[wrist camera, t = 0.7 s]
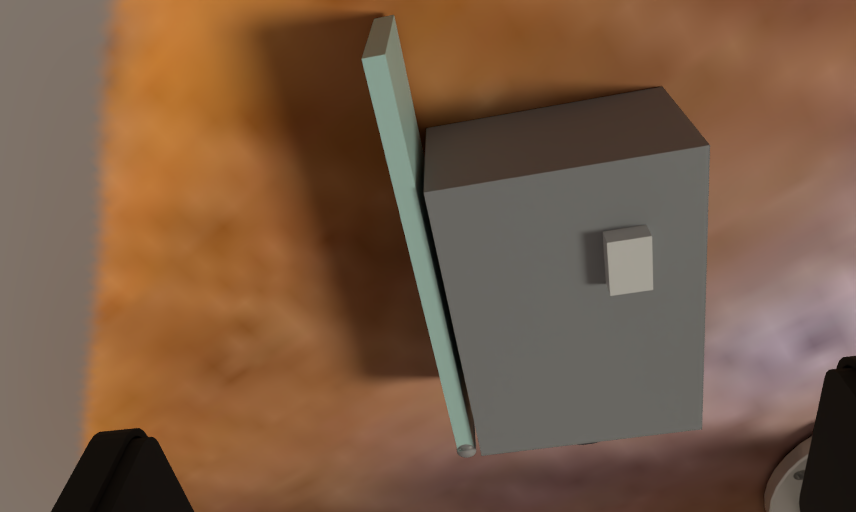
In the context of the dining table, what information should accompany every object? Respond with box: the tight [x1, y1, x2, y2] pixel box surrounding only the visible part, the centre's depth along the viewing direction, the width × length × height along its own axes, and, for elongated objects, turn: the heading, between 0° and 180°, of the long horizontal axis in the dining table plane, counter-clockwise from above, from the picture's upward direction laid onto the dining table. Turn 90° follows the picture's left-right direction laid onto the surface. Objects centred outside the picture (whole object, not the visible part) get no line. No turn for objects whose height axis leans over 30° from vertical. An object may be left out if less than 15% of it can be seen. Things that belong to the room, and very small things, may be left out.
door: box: [362, 15, 476, 457], centre depth 30 cm, size 19×1×5 cm, turn 11°
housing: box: [424, 87, 710, 456], centre depth 30 cm, size 15×10×7 cm, turn 11°
